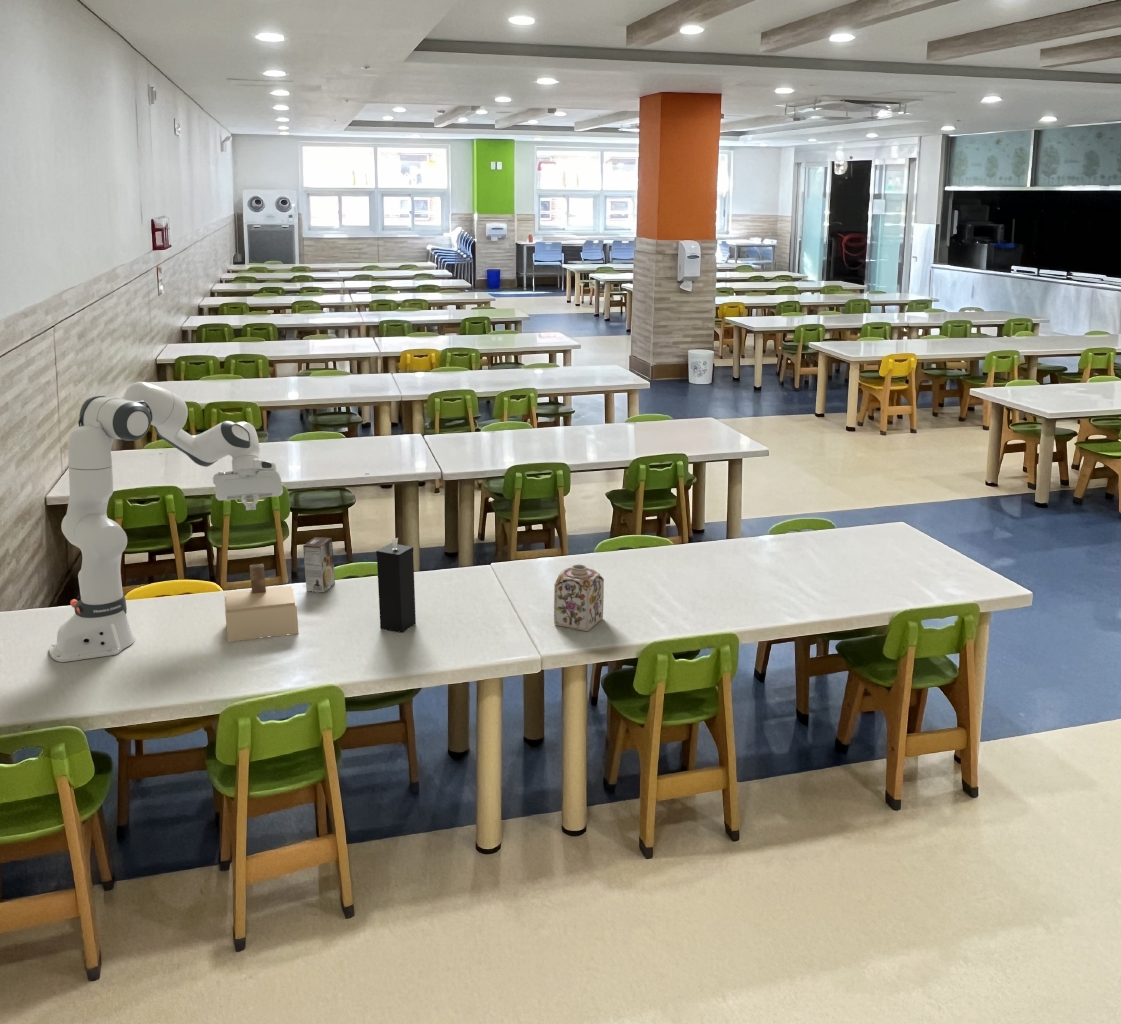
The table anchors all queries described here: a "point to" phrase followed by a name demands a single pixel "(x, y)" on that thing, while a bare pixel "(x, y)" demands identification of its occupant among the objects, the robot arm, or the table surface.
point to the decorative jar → (578, 598)
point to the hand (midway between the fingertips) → (251, 509)
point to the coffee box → (319, 564)
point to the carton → (261, 622)
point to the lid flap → (259, 594)
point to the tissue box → (396, 587)
